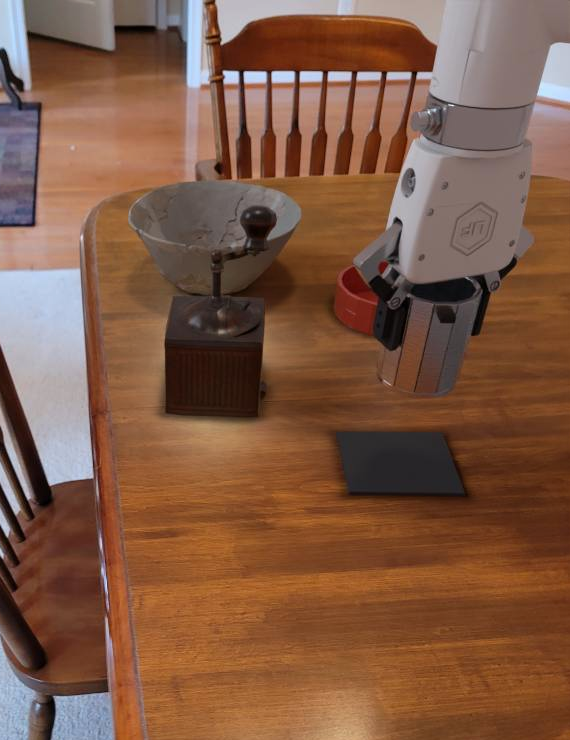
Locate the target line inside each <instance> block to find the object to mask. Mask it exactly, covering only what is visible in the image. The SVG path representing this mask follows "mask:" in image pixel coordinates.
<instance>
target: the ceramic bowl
mask: <svg viewBox="0 0 570 740" xmlns="http://www.w3.org/2000/svg"><path fill="white" fill-rule="evenodd" d="M253 205H262V206H267V207H269V208H270V209H271V210H272V211H274V212H275V213H276V217H277V222H276V226H275V227H274V228H273V229H272V230H271V232H270V234H269V235H268V237H267V243H268V246H269V250H267V251H262V252H260V254H257V255H256V256H255V257H254V256H252V255H247V256H244V257H242V258H239V259H235V260H229V261H226V262H224V263H223V266H224V271H223V272H222V273H221V295H230V294H235V293H237V292H240V291H242V290H245V289H246V288H247V287H249V285H251V284H252V283H254V282H255V281H256V280H257V279H258V278H259V277H261V275H263V273H264V272H265V271H266V270H267V269H268V268H269V267H270V265H272V263H273V262H274V261H275V260H276V258H277V257H278V256H279V255H280V254H281V252H282V250H283V249H284V248H285V246H286V245H287V243H288V242H289V240H290V239H291V237H292V235H293V234H294V232H295V231H296V229H297V227H298V226H299V224H300V222H301V220H302V208H301V206H299V204H298V203H297V202H296V201H295V200H294V199H293V198H292V197H290V196H288V194H286V193H284V192H282V191H280V190H277V189H274V188H269V187H265V186H263V185H259V184H252V183H247V182H240V181H231V180H212V179H202V180H195V181H193V180H192V181H181V182H175V183H172V184H165V185H163V186H159V187H157V188H154V189H152V190H149V191H148V192H146V193H145V194H143V195H142V196H141V197H139V198H138V199H137V200H136V201H135V202H134V203H133V204H132V205H131V207H130V208H129V212H128V216H127V220H128V221H127V222H128V225H129V226H130V228H131V229H132V231H133V232H134V233H135V234H136V236H137V237H138V238H139V239H140V240H141V242H142V243H143V245H144V247H145V248H146V250H147V252H148V253H149V255H150V256H151V258H152V260H153V262H154V264H155V266H156V267H157V270H158V272H159V274H160V275H161V276H162V277H163V278H164V279H166V280H167V281H169V283H171V284H173V285H174V286H175V287H177V288H179V289H180V290H181V291H183V292H186V293H189V294H198V295H200V296H211V295H212V272H210V268H211V267H210V264H211V263H212V261H211V259H210V255H211V253H212V252H213V251H215V250H220V251H222V253H223V254H224V253H230V252H236V251H241V250H243V245H244V244H245V241H246V238H247V236H246V233H245V231H244V229H243V227H242V226H241V224H240V216H241V214H242V212H243V210H245V209H247V208H248V207H250V206H253Z"/></svg>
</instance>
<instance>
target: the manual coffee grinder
mask: <svg viewBox="0 0 570 740" xmlns="http://www.w3.org/2000/svg"><path fill="white" fill-rule="evenodd" d="M276 222H277V217H276V213H275V212H274V211H272V210H271V209H270V208H269V207H267V206H262V205H253V206H250V207H248V208H247V209H245V210H243V212H242V214H241V216H240V224H241V226H242V227H243V229H244V231H245V233H246V236H247V238H246V241H245V244H244V245H243V250H241V251H236V252H230V253H224V254H223V253H222V251H220V250H215V251H213V252H212V253H211V255H210V259H211V261H212V263H211V264H210V267H211V268H210V272H212V295H173V296H172V298H171V299H172V300H171V304H170V308H169V312H168V315H167V320H166V323H165V333H164V340H163V341H164V342H163V345H164V346H163V347H164V373H165V374H164V378H165V380H164V383H165V386H164V387H165V408H164V414H168V415H178V416H193V417H194V416H195V417H197V416H198V417H218V418H219V417H220V418H243V419H246V418H247V419H249V418H251V419H252V418H259V417H260V411H261V404H262V401H263V398H264V397H265V396H266V394H267V383H266V382H265V381H262V378H263V377H262V375H263V359H264V354H263V353H264V344H265V343H264V342H265V327H266V326H265V324H266V306H265V305H266V304H265V298H264V297H253V296H252V297H249V296H231V294H224V295H221V273H222V272H223V271H224V266H223V263H224V262H226V261H229V260H235V259H239V258H242V257H244V256H247V255H252V256H254V257H255V256H256V255H257V254H260V252H262V251H267V250H269V246H268V243H267V237H268V235H269V234H270V232H271V230H272V229H273V228H274V227H275V226H276Z"/></svg>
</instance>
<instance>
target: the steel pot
mask: <svg viewBox="0 0 570 740" xmlns="http://www.w3.org/2000/svg"><path fill="white" fill-rule="evenodd" d="M401 277H402V275H401V274H400V275H399V277H398V278H397V280H396V281H395V283H394V284H393V286H392V288H393V289H394V287H395V286H396V284H397V283H398V281H399V280H400V278H401ZM482 291H483V290H482V288H481V286H480V284H479V283H478V281H476V279H474V278H472V277H465V278H459V279H453V280H447V281H440V282H434V283H427V284H415V285H414V286H413V288H412V289H411V290H410V292H409V293H408V295H407V296H406V298H405V299H404V301H403V302H402V303H401V305H402V306H403V307H404V308H405V310H406V313H405V318H404V323H403V328H402V332H401V337H400V342H399V347H398V348H397V349H396V350H394V351H389V350H388V349H387V348H386V347H385V346H383V345H382V344H381V343H380V345H379V347H380V348H379V353H378V357H377V363H376V377H377V379H378V380H379V382H380V383H381V384H382V386H384V387H385V388H387V390H389V391H391V392H394V393H396V394H399V395H402V396H406V397H410V398H414V399H416V398H417V399H435V398H439V397H443V396H446V395H448V394H450V393H451V392H452V391H453V390H454V389H456V387H457V384H458V381H459V379H460V377H461V373H462V369H463V366H464V361H465V358H466V354H467V350H468V346H469V344H470V339H471V337H472V336H471V332H472V329H473V325H474V321H475V318H476V314H477V310H478V307H479V303H480V299H481V295H482Z"/></svg>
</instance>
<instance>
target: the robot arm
mask: <svg viewBox="0 0 570 740" xmlns="http://www.w3.org/2000/svg"><path fill="white" fill-rule="evenodd" d="M440 25H441V26H440V30H439V31H440V32H439V36H438V37H439V38H438V42H437V47H436V51H435V57H434V63H433V67H432V72H431V77H430V83H429V88H428V89H429V90H428V93H427V96H426V99H425V105H424V108H423V109H421V110H418V111H414V112H413V113H412V115H411V117H410V127H411V130H412V131H413V132H420V135H419V137H416V138H414V139H413V140H412V143H411V145H410V147H409V150H408V152H407V155H406V157H405V159H404V163H403V165H402V169H401V171H400V174H399V177H398V181H397V183H396V186H395V187H396V188H395V191H394V194H393V198H392V201H391V205H390V210H389V214H388V218H387V222H386V228H385V231H384V232H382V233H381V234H380V235H379V236H378V237H377V238H375V239H374V240H373V241H372V242H371V243H370V244H369V245H367V246H366V247H365V248H364V249H362V250H361V251H360V252H359V253H358V254H356V256H354V258H353V260H352V265H354V266H355V268H356V270H357V271H358V273H359V274H360V276H361V277H362V279H363V281H364V283H365V284H366V285H367V286H368V287H369V288H370V290H371V291H372V292H373V293H374V294H375V295H376V296H377V297H378V302H377V308H376V313H375V318H374V324H373V333H374V335H373V337H374V338H375V339H376V340H377V341H378V342H379V344H380V345H381V344H382V345H383V346H385V347H386V348H387V349H388V350H389V351H394V350H396V349H397V348H398V347H399V342H400V337H401V332H402V328H403V323H404V318H405V313H406V310H405V308H404V307H403V306H402V305H401V303H402V302H403V301H404V299H405V298H406V296H407V295H408V293H409V292H410V290H411V289H412V288H413V286H414V285H415V284H427V283H434V282H440V281H447V280H453V279H459V278H465V277H472V278H474V279H476V281H478V283H479V284H480V286H481V288H482V290H483V291H482V295H481V299H480V303H479V307H478V310H477V314H476V318H475V321H474V325H473V329H472V332H471V336H470V337H475V336H479V335H480V334H481V330H482V328H483V327H482V326H483V324H484V319H485V316H486V314H487V313H486V312H487V309H488V305H489V303H490V298H491V296H492V293H496V292H497V291H498V290H499V289H500V288H501V286H502V281H503V279H504V278H505V277H506V276H507V275H508V274H509V273H511V271H513V269H514V268H515V267H516V266H517V263H518V259H521V258H522V257H523V256H524V254H525V253H526V252H527V251H528V250H529V248H530V247H531V246H532V245H533V244H534V242H535V236H534V235H533V234H532V233H531V232H530V231H529V230H528V229H527V228H526V227H525V226H524V225H523V221H524V218H525V217H524V216H525V211H526V206H527V201H528V198H529V197H528V196H529V190H530V184H531V183H530V182H531V176H532V164H533V163H532V162H533V142H532V141H531V140H530V139H528V138H527V137H526V136H527V134H528V130H529V125H530V123H531V118H532V115H533V111H534V107H535V104H536V99H537V97H538V93H539V90H540V86H541V82H542V78H543V75H544V72H545V67H546V63H547V60H548V56H549V53H550V49H551V46H552V45H553V46H554V45H555V44H559V43H562V44H570V0H445V4H444V11H443V17H442V21H441V24H440ZM383 260H384V261H385V262H387V263H389V265H388V267H387V268H386V270H385V271H384V273H383V274H382V276H381V274H380V272H379V270H378V267H379V264H380V263H381V262H382V261H383ZM400 274H401V275H402V277H401V278H400V280H399V281H398V283H397V284H396V286H395V287H394V289H393V288H392V286H393V284H394V283H395V281H396V280H397V278H398V277H399V275H400Z"/></svg>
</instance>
